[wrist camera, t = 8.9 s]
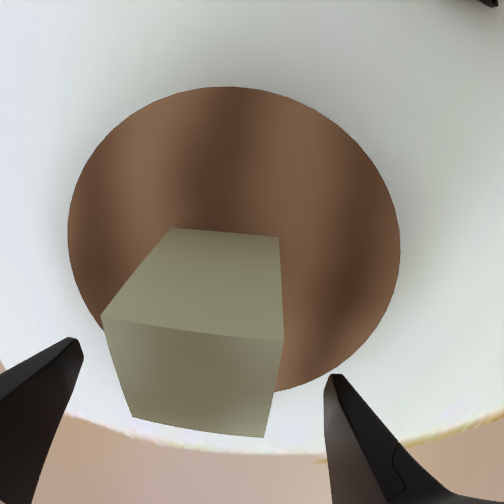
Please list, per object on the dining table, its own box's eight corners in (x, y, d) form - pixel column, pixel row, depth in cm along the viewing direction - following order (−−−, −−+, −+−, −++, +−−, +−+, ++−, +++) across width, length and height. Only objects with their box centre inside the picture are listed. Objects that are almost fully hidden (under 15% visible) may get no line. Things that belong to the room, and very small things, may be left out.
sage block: (278, 236, 14) (284, 340, 7) (267, 324, 16) (263, 437, 9) (171, 227, 14) (100, 315, 7) (175, 314, 16) (132, 416, 9)
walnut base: (405, 119, 14) (431, 120, 11) (342, 370, 21) (349, 400, 18) (88, 100, 14) (58, 100, 11) (115, 344, 21) (100, 370, 19)
